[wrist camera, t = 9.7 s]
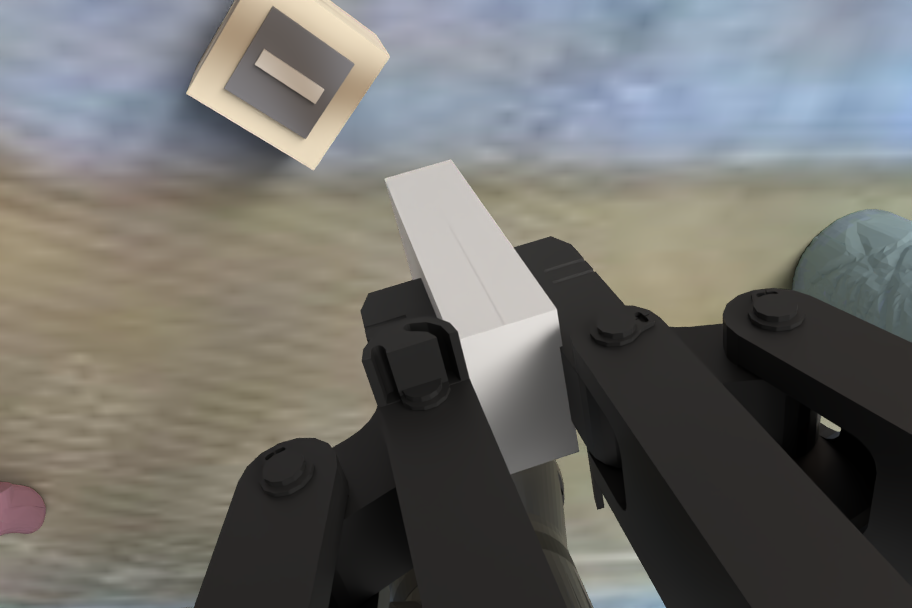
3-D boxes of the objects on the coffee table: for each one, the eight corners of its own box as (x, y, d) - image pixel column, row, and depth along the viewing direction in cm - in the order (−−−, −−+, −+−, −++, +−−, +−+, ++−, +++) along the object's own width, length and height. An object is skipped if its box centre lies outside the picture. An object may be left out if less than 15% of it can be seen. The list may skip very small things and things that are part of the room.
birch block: (308, 135, 35) (314, 174, 31) (196, 65, 33) (184, 96, 28) (375, 34, 34) (391, 58, 29) (263, -50, 31) (261, -37, 26)
